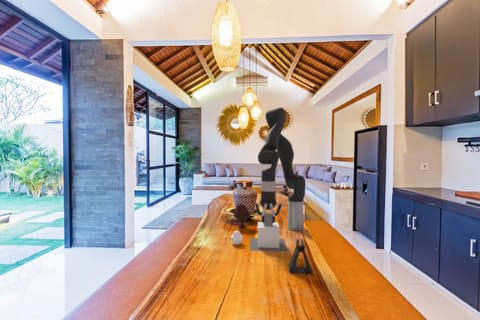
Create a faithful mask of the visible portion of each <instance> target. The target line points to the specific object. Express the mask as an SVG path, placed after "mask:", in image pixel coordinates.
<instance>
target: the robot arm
mask: <svg viewBox="0 0 480 320" xmlns="http://www.w3.org/2000/svg"><path fill="white" fill-rule="evenodd" d="M265 121H266V123H267V126H268V128H269V131H268V132H267V134H266V137H265V140H264V144H263V145H262V147H261V149H260V150H259V152H258V154H257V161H258V163H259V164H261V165H270V167H269V168H268V167H267V168H264V169H262V170H261V182H260V183H261V184H260V201H259V202H255V203H254V206H255V209H256V212H257V215H258V216H261V222H263V223H264V214H265V212H266V211H268V210H269V211H270V212H271V213H272V224H273V223H274V222H276V216H279V214H280V211H281V209H282V203H281V202H280V203H279V202H277V197H276V196H277V188H276V187H277V184H276V173H277V168H278V167H277V166H278V163H279V161H280V164H281V168H282V171H283V177H284V181H285V185H286V186H287V187H286V188H288V189H289V190H293V192H292V194H290V195H288V197H287V204H288V205H287V229H289V230H290V231H303V230H305V214H304V199H305V196H306V185H307V184H306V179H305V176H303V175H301V174H300V175H299V174H295V172H294V169H293V164H294V163H293V162H294V158H295V151H294V148H293V145H292V143H291V142H290V140H289V139H288V138H287V137H286V136H285V135H283V134H282V132H283V130H284V128H285V127H284V126H285V124H286V122H287V112H286V110H285V109H284V107H277V108H273V109H269V110H267V111H266V112H265ZM260 206H261V207H262V211H261V210H260ZM275 207H277V208H276V210H274V208H275Z"/></svg>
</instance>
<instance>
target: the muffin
mask: <svg viewBox="0 0 480 320" xmlns="http://www.w3.org/2000/svg"><path fill="white" fill-rule="evenodd" d="M243 237H244V236H243V235H242V234H241V232H240V231H239V230H235V231H233V233H232V234H231V236H230V240H231V242H232V244H233V245H236V246H237V245H240V244H241V243H242V241H243Z"/></svg>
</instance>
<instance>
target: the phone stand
mask: <svg viewBox="0 0 480 320" xmlns="http://www.w3.org/2000/svg"><path fill="white" fill-rule="evenodd" d="M305 249H306V246H305V244H304V240H303V239H302V238H300V239H299V238H297V239H296V241H295V248H294V250H293V253H292V256H291V258H290V261H289V263H288V272H289V274H297V273H300V274H301V273H305V274H304V275H313V272H312V268H311V264H310V262H309V259H308V256H307V254H306V250H305ZM300 253H302V256H303V260H304V264H305V266H301V265H299V266H298V265H297V261H298V259H299V254H300ZM296 265H297V266H296Z"/></svg>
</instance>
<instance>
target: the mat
mask: <svg viewBox="0 0 480 320" xmlns="http://www.w3.org/2000/svg"><path fill="white" fill-rule="evenodd" d="M249 242H250V244H249V251H254V252H255V251H257V252H258V251H259V252H260V251H261V252H262V251H263V252H264V251H265V252H288V248H287V245H286V242H285V238H279V248H258V237H250V241H249Z"/></svg>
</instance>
